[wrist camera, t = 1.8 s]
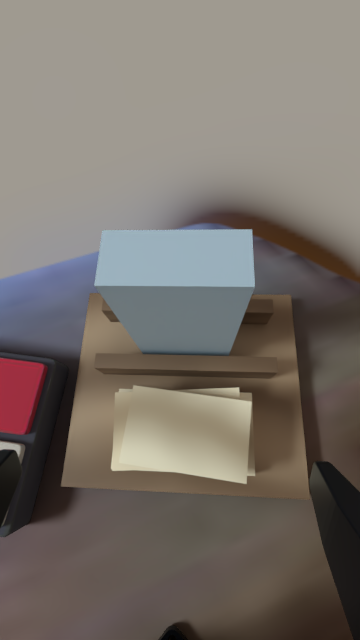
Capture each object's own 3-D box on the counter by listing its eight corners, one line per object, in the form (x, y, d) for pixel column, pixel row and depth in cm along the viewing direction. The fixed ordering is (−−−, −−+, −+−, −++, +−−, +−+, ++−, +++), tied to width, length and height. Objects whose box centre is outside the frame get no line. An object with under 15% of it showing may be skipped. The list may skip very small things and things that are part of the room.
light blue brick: (227, 359, 23) (254, 286, 11) (145, 357, 23) (94, 285, 12) (226, 327, 23) (251, 229, 12) (148, 326, 24) (102, 230, 13)
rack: (303, 496, 20) (325, 508, 17) (68, 483, 21) (43, 493, 18) (286, 301, 25) (300, 280, 22) (94, 299, 26) (79, 279, 23)
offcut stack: (252, 476, 20) (262, 484, 17) (115, 469, 20) (99, 476, 17) (249, 392, 22) (257, 385, 19) (123, 388, 22) (110, 381, 19)
